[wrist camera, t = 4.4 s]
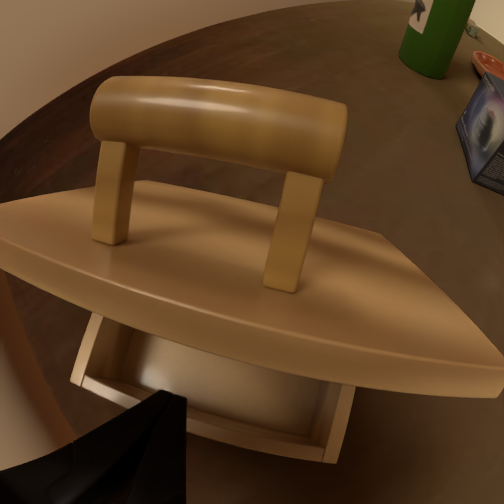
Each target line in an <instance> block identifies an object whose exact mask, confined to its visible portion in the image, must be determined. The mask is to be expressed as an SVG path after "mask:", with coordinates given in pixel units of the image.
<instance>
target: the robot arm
mask: <svg viewBox="0 0 504 504" xmlns="http://www.w3.org/2000/svg"><path fill="white" fill-rule="evenodd" d="M187 401H188V400H187V398H186V397H183V396H180V395H177V394H175V395H174V394H173V393H172V392H169V391H166V390H163V389H161V390H158V391H157V392H155V393H154V394H152V395H151V396H149V397H147V398H146V399H144V400H143V401H141V402H139V403H138V404H136V405H135V406H133V407H131V408H130V409H128V410H126V411H125V412H123V413H121V414H120V415H118V416H116V417H115V418H113V419H111V420H110V421H108V422H106V423H105V424H103V425H101V426H99V427H98V428H96V429H94V430H93V431H91V432H89V433H87V434H86V435H84V436H82V437H80V438H78V439H77V440H75V441H73V443H69V444H67V445H66V446H64V447H62V448H60V449H58V450H56V451H54V452H52V453H50V454H48V455H45V456H43V457H40V458H38V459H35V460H32V461H29V462H27V463H24V464H21V465H18V466H15V467H12V468H8V469H5V470H2V471H0V504H186V431H187Z"/></svg>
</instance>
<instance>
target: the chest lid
mask: <svg viewBox="0 0 504 504" xmlns="http://www.w3.org/2000/svg"><path fill="white" fill-rule="evenodd" d="M347 124H348V108H347V106H346V105H345V104H343V103H339V102H335V101H331V100H327V99H323V98H319V97H315V96H310V95H306V94H301V93H296V92H291V91H286V90H281V89H275V88H270V87H264V86H257V85H251V84H244V83H236V82H228V81H219V80H209V79H198V78H183V77H163V76H115V77H111V78H109V79H107V80H106V81H104V82H103V83H102V84H101V85H100V86H99V88H98V89H97V91H96V93H95V95H94V97H93V100H92V103H91V108H90V125H91V129H92V132H93V134H94V136H95V137H96V138H97V139H98V140H99V141H100V142H102V143H101V149H100V155H99V162H98V170H97V178H96V186H95V187H89V188H82V189H76V190H70V191H64V192H58V193H52V194H47V195H41V196H36V197H31V198H26V199H21V200H16V201H11V202H6V203H2V204H0V268H1V269H3V270H5V271H7V272H8V273H10V274H12V275H14V276H16V277H18V278H20V279H22V280H24V281H26V282H28V283H30V284H32V285H34V286H36V287H38V288H40V289H42V290H44V291H46V292H49V293H51V294H53V295H55V296H57V297H59V298H62V299H64V300H66V301H68V302H71V303H73V304H75V305H77V306H80V307H82V308H84V309H87V310H89V311H92V312H94V313H96V314H99V315H101V316H104V317H106V318H109V319H111V320H114V321H117V322H119V323H122V324H124V325H127V326H130V327H132V328H135V329H138V330H141V331H143V332H146V333H149V334H152V335H155V336H158V337H160V338H163V339H166V340H169V341H172V342H175V343H179V344H182V345H185V346H188V347H191V348H194V349H198V350H201V351H204V352H208V353H211V354H214V355H218V356H221V357H225V358H229V359H232V360H236V361H240V362H243V363H247V364H251V365H255V366H259V367H263V368H267V369H271V370H276V371H280V372H284V373H289V374H294V375H298V376H303V377H308V378H313V379H318V380H323V381H328V382H334V383H339V384H345V385H351V386H358V387H364V388H371V389H378V390H385V391H393V392H402V393H411V394H421V395H432V396H446V397H464V398H497V397H498V396H499V394H500V393H501V391H502V389H503V388H504V356H503V355H502V354H501V353H500V352H499V351H498V349H497V348H496V347H495V346H494V345H493V344H492V343H491V342H490V340H489V339H488V338H487V337H486V336H485V335H484V334H483V333H482V332H481V330H480V329H479V328H478V327H477V326H476V325H475V324H474V323H473V322H472V321H471V320H470V319H469V318H468V317H467V316H466V314H465V313H464V312H463V311H462V310H461V309H460V308H459V307H458V306H457V305H456V304H455V303H454V302H453V301H452V300H451V299H450V298H449V297H448V296H447V295H446V294H445V293H444V292H443V291H442V290H441V289H440V288H439V287H438V286H437V285H436V284H435V283H434V282H433V281H431V280H430V279H429V278H428V277H427V276H426V275H425V274H424V273H423V272H422V271H421V270H420V269H419V268H418V267H417V266H416V265H414V264H413V263H412V262H411V261H410V260H409V259H408V258H407V257H406V256H405V255H403V254H402V253H401V252H400V251H399V250H398V249H397V248H396V247H394V246H393V245H392V244H391V243H390V242H389V241H388V240H387V239H385V238H384V237H383V236H382V235H381V234H379V233H375V232H372V231H368V230H364V229H361V228H357V227H353V226H349V225H346V224H342V223H338V222H334V221H330V220H326V219H323V218H319V217H316V214H317V210H318V206H319V201H320V197H321V193H322V189H323V185H324V184H327V183H330V182H331V181H332V179H333V178H334V176H335V173H336V171H337V168H338V165H339V161H340V158H341V154H342V150H343V146H344V141H345V136H346V130H347ZM140 148H144V149H151V150H158V151H165V152H172V153H179V154H185V155H191V156H197V157H203V158H209V159H214V160H220V161H225V162H230V163H236V164H241V165H246V166H251V167H255V168H260V169H265V170H270V171H274V172H279V173H283V174H286V177H285V182H284V186H283V191H282V195H281V200H280V204H279V208H278V207H273V206H269V205H265V204H260V203H256V202H252V201H247V200H243V199H238V198H233V197H229V196H224V195H219V194H215V193H210V192H205V191H200V190H195V189H190V188H185V187H180V186H175V185H170V184H165V183H159V182H154V181H148V180H143V181H135V175H136V168H137V162H138V156H139V150H140Z"/></svg>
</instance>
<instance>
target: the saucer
mask: <svg viewBox="0 0 504 504" xmlns="http://www.w3.org/2000/svg"><path fill="white" fill-rule="evenodd" d="M472 62H473V64H474V66H475V67H476V69H477V71H478V73H479V75H480V76H481V77H483V75H484V72H485V71H488V72H489V73H491V74H493V75H495V76H497V77H498V78H500V79H502V80H504V64H503V63H502V62H500V61H499V60H497V59H496V58H494V57H492V56H490V55H488V54H486V53H484V52H481V51H475V52H474V53H473V55H472Z"/></svg>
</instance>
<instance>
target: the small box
mask: <svg viewBox="0 0 504 504" xmlns="http://www.w3.org/2000/svg"><path fill="white" fill-rule="evenodd" d="M456 128H457V131H458V134H459V137H460V140H461V143H462V147H463V150H464V153H465V157H466V160H467V164H468V168H469V172H470V176H471V180H472V181H473V182H475V183H477V184H480V185H482V186H484V187H487V188H489V189H491V190H493V191H496V192H498V193H500V194H502V195H504V80H502V79H500V78H498V77H497V76H495V75H493V74H491V73H489V72H488V71H485V72H484V75H483V77H482V79H481V81H480V83H479V85H478V86H477V88H476V90H475V92H474V94H473V96H472V98H471V100H470V102H469V103H468V105H467V107H466V109H465V110H464V112H463V114H462V116H461V117H460V119H459V121H458V122H457V124H456Z"/></svg>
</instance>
